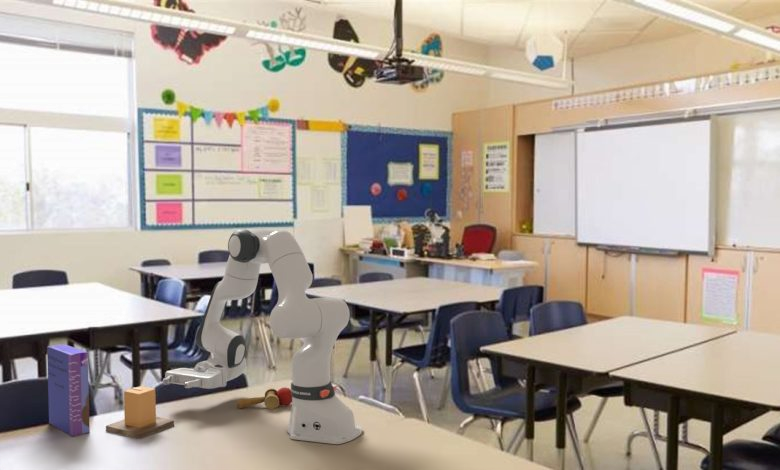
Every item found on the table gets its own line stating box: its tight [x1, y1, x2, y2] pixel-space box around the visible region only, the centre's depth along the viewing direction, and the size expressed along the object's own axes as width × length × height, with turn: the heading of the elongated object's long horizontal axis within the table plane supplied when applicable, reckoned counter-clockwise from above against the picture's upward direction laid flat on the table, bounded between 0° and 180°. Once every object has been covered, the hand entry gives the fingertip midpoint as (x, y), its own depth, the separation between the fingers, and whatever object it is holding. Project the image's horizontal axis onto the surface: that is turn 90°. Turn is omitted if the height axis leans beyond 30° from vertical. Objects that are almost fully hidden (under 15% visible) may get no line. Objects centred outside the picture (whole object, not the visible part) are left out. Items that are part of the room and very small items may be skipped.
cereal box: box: [46, 343, 91, 437], centre depth 195 cm, size 17×5×24 cm, turn 48°
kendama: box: [237, 387, 292, 410], centre depth 216 cm, size 8×6×18 cm
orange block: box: [123, 385, 157, 428], centre depth 195 cm, size 6×6×10 cm
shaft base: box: [105, 416, 175, 440], centre depth 195 cm, size 14×13×8 cm
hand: (175, 383), depth 206 cm, fingers open, 8 cm apart
